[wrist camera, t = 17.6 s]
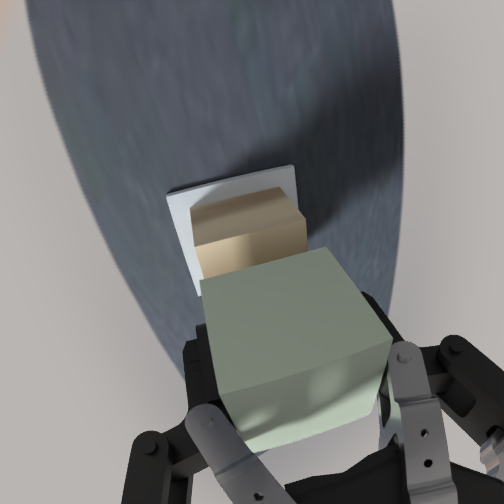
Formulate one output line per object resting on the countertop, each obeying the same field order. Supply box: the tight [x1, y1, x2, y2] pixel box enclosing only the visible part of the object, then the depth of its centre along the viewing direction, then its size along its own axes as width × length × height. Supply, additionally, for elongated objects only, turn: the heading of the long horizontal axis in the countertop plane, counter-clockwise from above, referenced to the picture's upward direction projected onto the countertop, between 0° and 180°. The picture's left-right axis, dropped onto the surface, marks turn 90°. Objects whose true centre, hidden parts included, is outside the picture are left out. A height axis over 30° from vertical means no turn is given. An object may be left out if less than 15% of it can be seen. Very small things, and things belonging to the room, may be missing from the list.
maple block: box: [190, 187, 308, 279], centre depth 17 cm, size 5×5×4 cm
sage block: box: [199, 247, 393, 453], centre depth 11 cm, size 5×5×5 cm
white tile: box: [166, 164, 298, 296], centre depth 19 cm, size 7×7×1 cm
